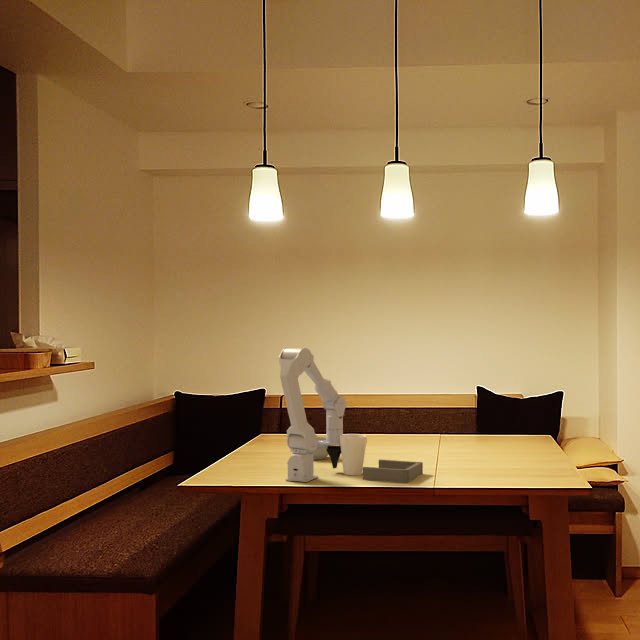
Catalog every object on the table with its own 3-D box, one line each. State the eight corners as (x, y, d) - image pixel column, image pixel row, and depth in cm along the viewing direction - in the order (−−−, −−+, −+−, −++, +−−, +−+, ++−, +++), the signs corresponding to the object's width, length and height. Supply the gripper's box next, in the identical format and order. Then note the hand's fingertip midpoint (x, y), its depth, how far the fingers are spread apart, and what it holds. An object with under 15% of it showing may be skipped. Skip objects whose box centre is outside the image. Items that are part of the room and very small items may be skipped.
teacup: (317, 462, 309) (317, 440, 309) (296, 459, 316) (296, 438, 316) (341, 457, 319) (341, 436, 319) (320, 454, 327) (319, 434, 327)
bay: (407, 482, 268) (407, 470, 268) (362, 479, 275) (362, 467, 275) (422, 473, 284) (422, 462, 284) (380, 470, 290) (380, 459, 290)
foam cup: (353, 469, 292) (353, 433, 292) (371, 473, 285) (372, 436, 285) (333, 473, 285) (333, 435, 285) (352, 477, 279) (352, 438, 278)
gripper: (358, 428, 289) (358, 467, 289) (320, 426, 294) (320, 464, 295) (350, 431, 282) (351, 470, 282) (312, 429, 288) (312, 468, 288)
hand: (334, 467), depth 288 cm, fingers closed
